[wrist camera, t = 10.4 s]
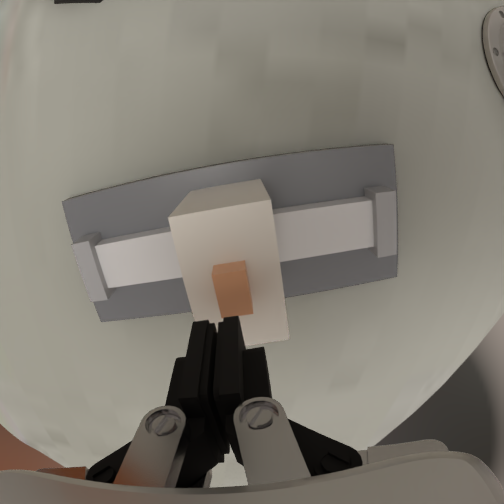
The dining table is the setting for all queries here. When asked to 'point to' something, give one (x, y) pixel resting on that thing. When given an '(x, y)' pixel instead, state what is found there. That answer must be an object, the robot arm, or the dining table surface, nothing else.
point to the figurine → (76, 1)
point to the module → (232, 259)
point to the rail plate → (281, 192)
